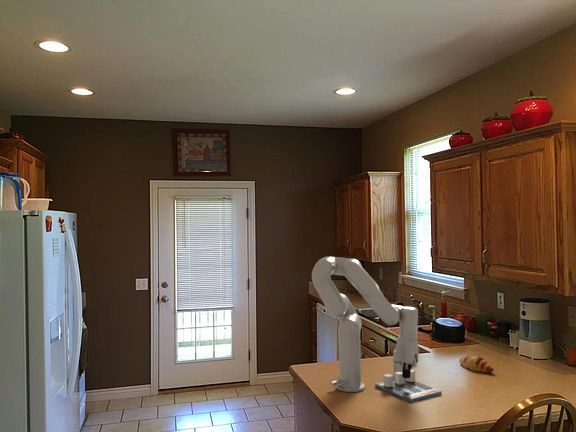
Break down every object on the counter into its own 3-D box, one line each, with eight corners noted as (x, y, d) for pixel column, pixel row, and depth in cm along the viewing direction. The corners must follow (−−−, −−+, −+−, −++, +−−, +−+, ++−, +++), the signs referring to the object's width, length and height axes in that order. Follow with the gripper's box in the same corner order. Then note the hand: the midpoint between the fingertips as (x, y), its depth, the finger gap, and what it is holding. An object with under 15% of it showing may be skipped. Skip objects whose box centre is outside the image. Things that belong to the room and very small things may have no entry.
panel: (410, 402, 194) (409, 398, 194) (375, 387, 213) (375, 383, 213) (441, 394, 202) (441, 390, 202) (405, 380, 221) (405, 376, 222)
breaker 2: (399, 384, 210) (399, 374, 210) (394, 382, 213) (394, 372, 213) (404, 383, 211) (404, 373, 211) (399, 381, 214) (399, 371, 214)
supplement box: (393, 377, 226) (392, 350, 226) (397, 373, 232) (396, 347, 233) (408, 379, 222) (408, 352, 223) (412, 375, 229) (411, 348, 229)
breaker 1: (388, 387, 207) (387, 376, 207) (383, 385, 209) (383, 375, 209) (393, 386, 208) (393, 375, 208) (388, 384, 211) (388, 373, 211)
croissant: (456, 370, 246) (450, 358, 245) (468, 359, 250) (462, 346, 249) (489, 381, 227) (483, 368, 226) (502, 369, 231) (496, 355, 230)
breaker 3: (410, 382, 213) (410, 372, 213) (405, 380, 216) (405, 370, 216) (415, 381, 214) (415, 371, 215) (410, 379, 217) (410, 369, 217)
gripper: (389, 332, 211) (388, 373, 211) (413, 340, 198) (412, 384, 198) (402, 331, 215) (400, 371, 215) (427, 339, 202) (425, 382, 202)
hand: (406, 377), depth 207 cm, fingers closed
